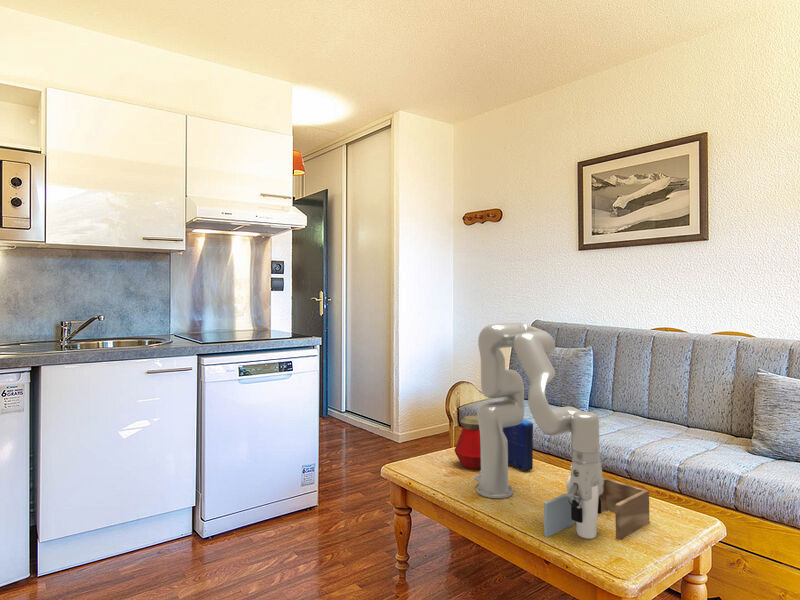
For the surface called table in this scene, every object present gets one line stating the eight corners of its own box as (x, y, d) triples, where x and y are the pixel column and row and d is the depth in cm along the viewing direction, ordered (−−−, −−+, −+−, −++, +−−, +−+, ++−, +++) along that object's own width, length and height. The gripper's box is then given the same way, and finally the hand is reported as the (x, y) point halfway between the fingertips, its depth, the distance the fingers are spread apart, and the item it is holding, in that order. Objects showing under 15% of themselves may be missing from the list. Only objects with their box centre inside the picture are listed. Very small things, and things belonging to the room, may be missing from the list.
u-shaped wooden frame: (574, 521, 148) (573, 490, 148) (604, 506, 158) (604, 477, 158) (619, 539, 136) (619, 505, 136) (649, 522, 147) (649, 490, 147)
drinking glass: (586, 543, 135) (585, 488, 135) (568, 532, 141) (568, 480, 141) (604, 538, 137) (603, 484, 137) (586, 528, 144) (585, 477, 144)
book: (500, 463, 203) (499, 415, 203) (509, 461, 205) (509, 413, 205) (524, 473, 190) (524, 422, 190) (534, 471, 193) (534, 420, 193)
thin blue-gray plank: (572, 522, 147) (572, 490, 147) (575, 523, 147) (575, 491, 147) (544, 536, 139) (543, 502, 139) (547, 537, 138) (546, 503, 138)
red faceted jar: (498, 466, 199) (498, 417, 199) (479, 475, 189) (478, 423, 189) (467, 458, 210) (466, 411, 210) (447, 465, 200) (447, 417, 200)
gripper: (580, 465, 131) (581, 529, 131) (613, 453, 142) (615, 512, 141) (556, 458, 137) (557, 520, 137) (590, 447, 148) (591, 504, 147)
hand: (586, 516), depth 139 cm, fingers open, 9 cm apart
